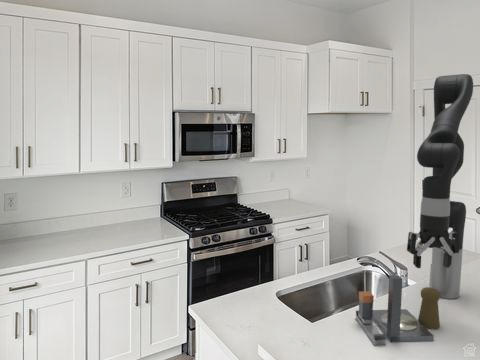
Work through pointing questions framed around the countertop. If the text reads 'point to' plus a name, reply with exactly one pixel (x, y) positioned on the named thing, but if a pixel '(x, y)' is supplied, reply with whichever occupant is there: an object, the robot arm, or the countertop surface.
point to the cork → (429, 308)
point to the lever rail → (372, 332)
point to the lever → (366, 307)
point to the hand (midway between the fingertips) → (431, 267)
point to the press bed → (399, 318)
